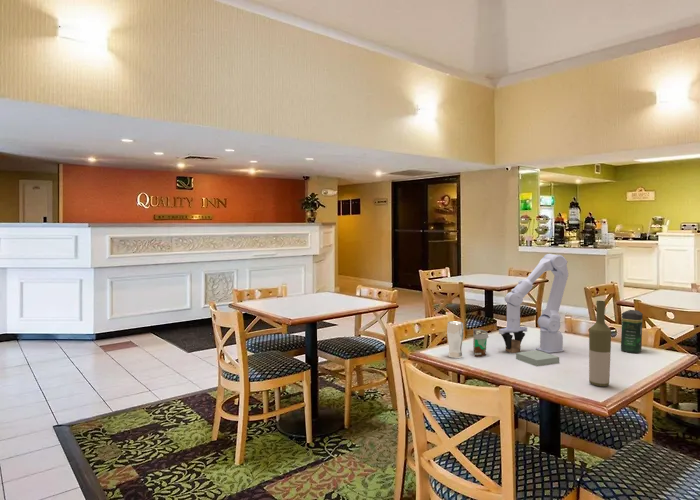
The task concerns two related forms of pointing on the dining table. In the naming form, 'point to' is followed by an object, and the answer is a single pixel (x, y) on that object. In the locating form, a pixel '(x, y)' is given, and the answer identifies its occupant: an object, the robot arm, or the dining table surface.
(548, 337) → the robot arm
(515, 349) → the walnut block
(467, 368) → the dining table surface
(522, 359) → the grey platform
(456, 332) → the beer glass
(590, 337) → the bottle
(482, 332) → the food container
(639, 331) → the coffee jar
